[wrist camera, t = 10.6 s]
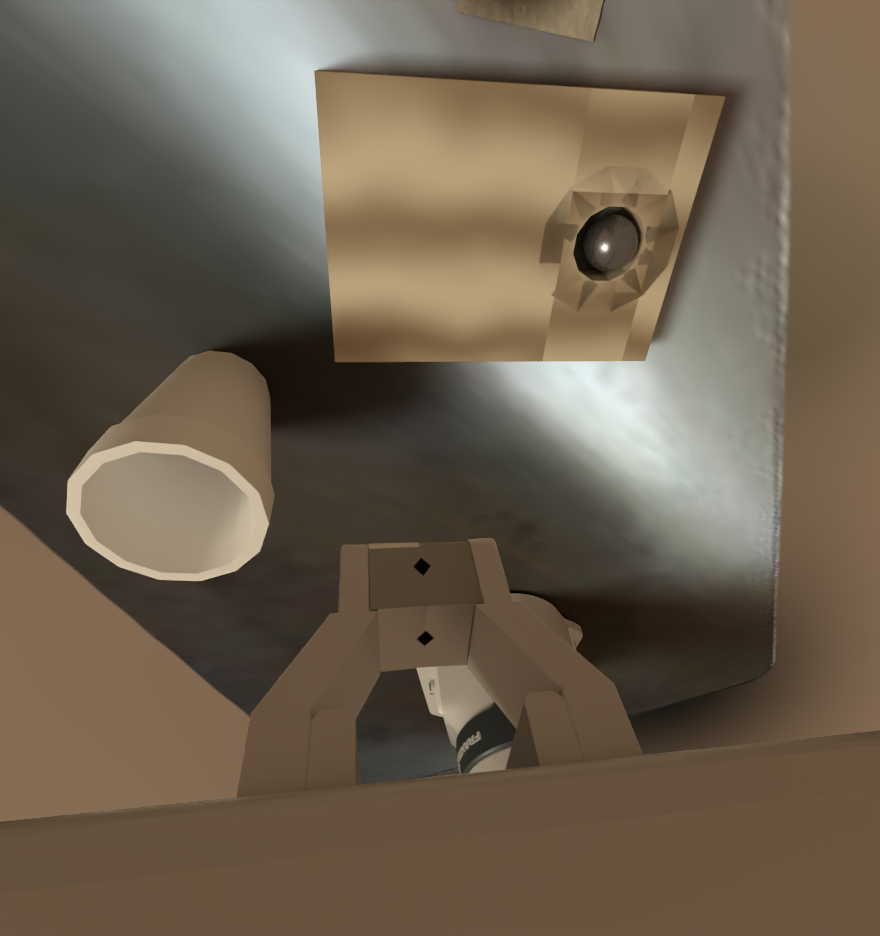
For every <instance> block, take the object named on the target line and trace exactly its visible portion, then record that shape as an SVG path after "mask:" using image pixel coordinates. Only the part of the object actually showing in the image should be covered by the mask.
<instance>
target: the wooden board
mask: <svg viewBox="0 0 880 936" xmlns="http://www.w3.org/2000/svg"><path fill="white" fill-rule="evenodd" d="M314 72H315V86H316V100H317V114H318V128H319V142H320V156H321V171H322V185H323V199H324V213H325V227H326V241H327V255H328V270H329V284H330V298H331V312H332V326H333V340H334V355H335V362H486V361H645V359H646V356H647V353H648V349H649V346H650V343H651V339H652V336H653V333H654V330H655V326H656V323H657V320H658V317H659V313H660V310H661V307H662V303H663V300H664V297H665V294H666V290H667V287H668V284H669V280H670V277H671V274H672V271H673V267H674V264H675V261H676V258H677V254H678V251H679V248H680V244H681V241H682V238H683V235H684V231H685V228H686V225H687V222H688V218H689V215H690V212H691V208H692V205H693V202H694V199H695V195H696V192H697V189H698V185H699V182H700V179H701V176H702V172H703V169H704V166H705V163H706V159H707V156H708V153H709V149H710V146H711V143H712V140H713V136H714V133H715V130H716V126H717V123H718V120H719V117H720V113H721V110H722V107H723V104H724V100H725V96H716V95H706V94H692V93H676V92H660V91H644V90H628V89H611V88H595V87H579V86H563V85H547V84H531V83H515V82H499V81H483V80H467V79H450V78H434V77H418V76H402V75H386V74H370V73H354V72H338V71H322V70H317V71H314ZM608 206H612V207H622V208H624V211H625V215H626V218H628V219H629V220H630V221H631V222H632V223H633V224H634V226H635V227H636V229H637V232H638V247H637V250H636V253H635V255H634V256H633V258H632V259H631V260H630V262H629V263H627V264H626V265H625V266H623V267H622V268H620V269H617V270H614V271H601V270H598V269H596V268H595V269H594V268H578V267H577V264H576V261H575V258H574V256H573V252H574V247H575V242H576V237H577V234H578V232H579V231H580V229H581V228H582V227H583V225H584V224H585V223H586V221H587V220H588V218H589V217H590V216H592V215H594V214H595V213H597V212H599V211H601V210H603V209H604V208H606V207H608Z"/></svg>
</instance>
